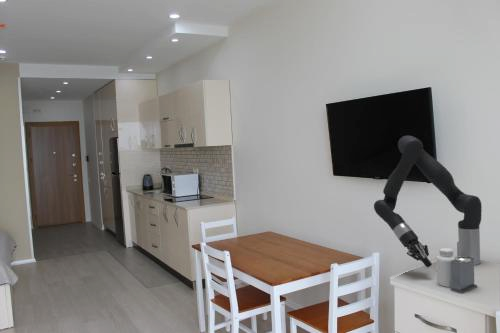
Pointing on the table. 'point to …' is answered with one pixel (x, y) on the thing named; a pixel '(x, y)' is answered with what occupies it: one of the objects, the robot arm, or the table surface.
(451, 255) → the pill bottle
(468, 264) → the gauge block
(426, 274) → the table surface
